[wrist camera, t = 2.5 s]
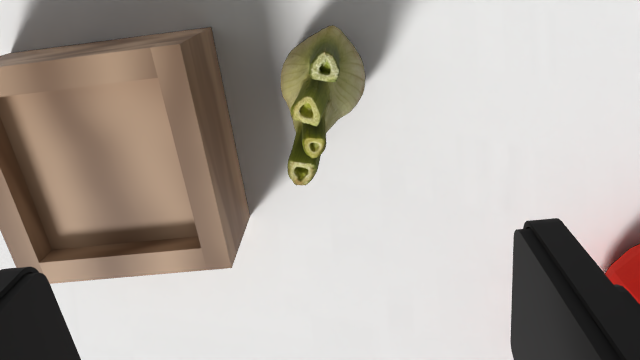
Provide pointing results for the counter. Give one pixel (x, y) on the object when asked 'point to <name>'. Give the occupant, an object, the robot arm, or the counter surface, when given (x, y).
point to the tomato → (627, 272)
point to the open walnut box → (119, 159)
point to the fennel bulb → (319, 94)
